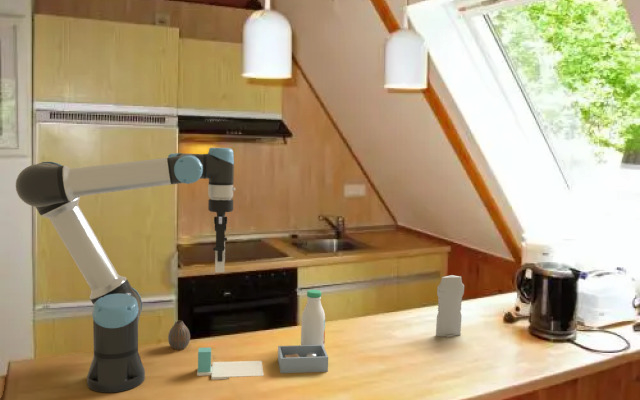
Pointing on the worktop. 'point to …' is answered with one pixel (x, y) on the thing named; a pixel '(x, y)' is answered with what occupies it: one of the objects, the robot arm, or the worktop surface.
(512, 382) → the worktop surface
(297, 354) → the walnut part
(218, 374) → the lid
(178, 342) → the vase
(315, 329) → the milk bottle
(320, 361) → the tub
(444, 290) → the tall pale column
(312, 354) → the metal part
